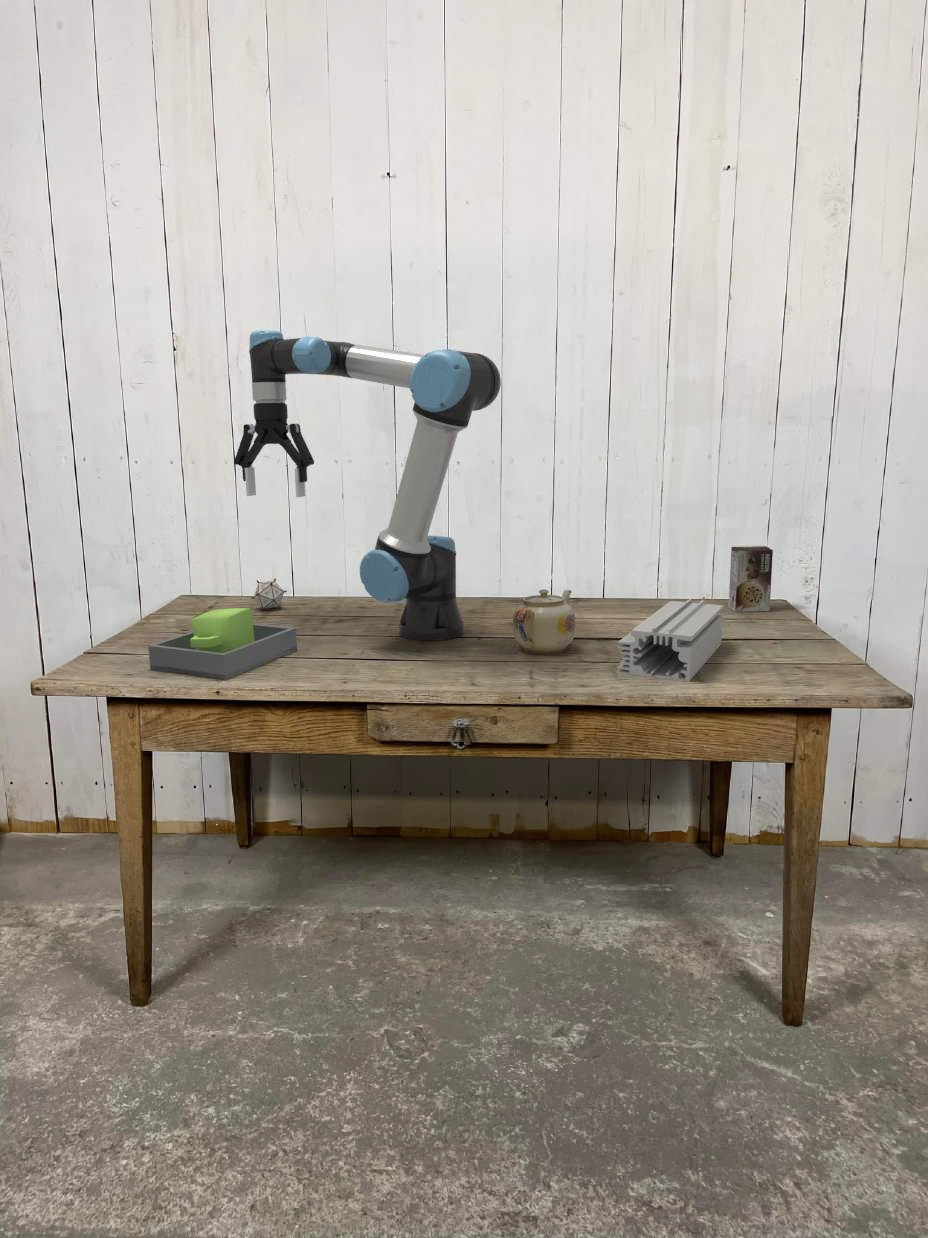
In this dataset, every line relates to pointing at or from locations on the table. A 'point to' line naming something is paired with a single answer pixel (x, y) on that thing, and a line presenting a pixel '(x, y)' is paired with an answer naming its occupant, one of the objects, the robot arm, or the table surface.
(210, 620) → the green handled block
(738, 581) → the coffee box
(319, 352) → the robot arm
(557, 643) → the teapot
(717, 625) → the aluminum extrusion profile
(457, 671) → the table surface
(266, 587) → the game die
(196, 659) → the gray tray
